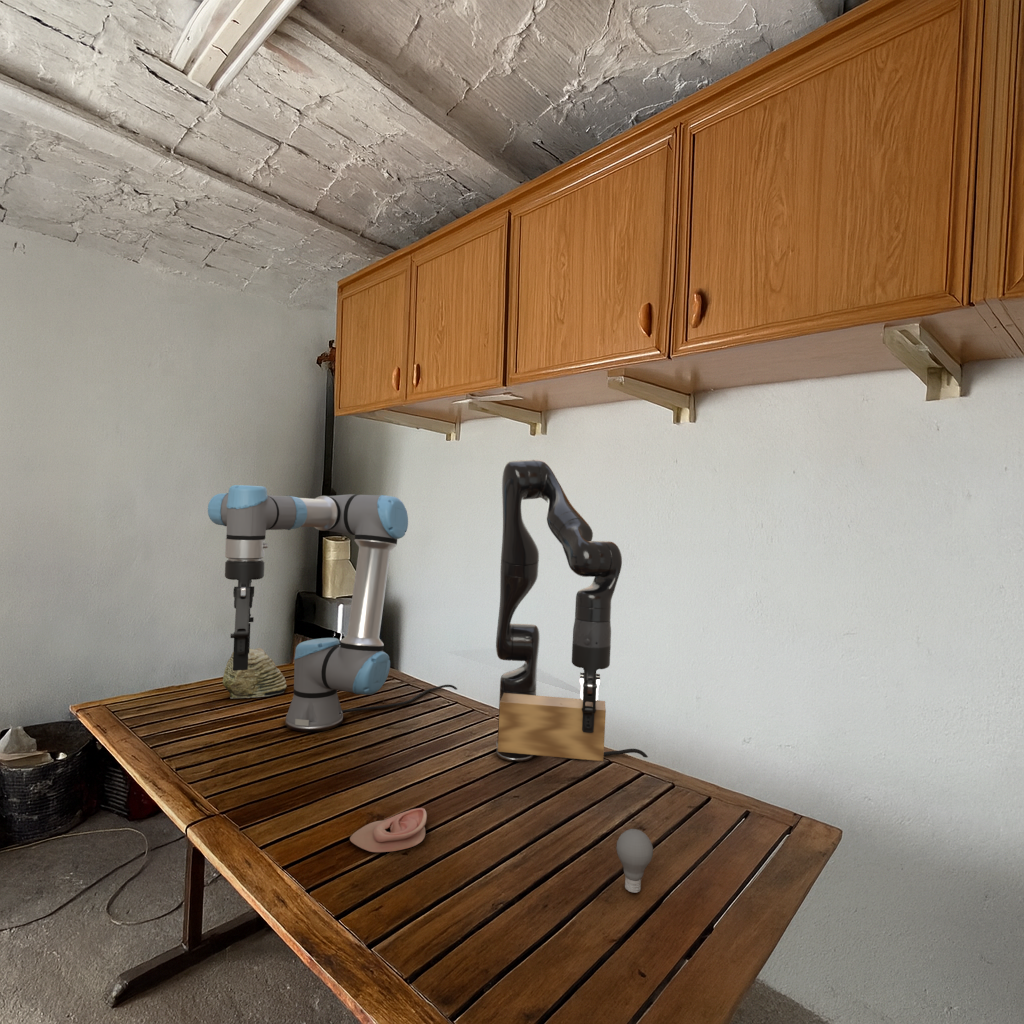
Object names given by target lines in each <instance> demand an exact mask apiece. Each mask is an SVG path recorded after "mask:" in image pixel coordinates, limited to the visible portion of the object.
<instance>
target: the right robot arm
mask: <svg viewBox="0 0 1024 1024" xmlns="http://www.w3.org/2000/svg"><path fill="white" fill-rule="evenodd" d="M536 499H541V500H544V501H545V503H547V508H546V509H547V510H546V523H547V526H548V529H549V530H550V532H551V534H552V535H553V536H554V537H555V539H556V540H557V541H558V543H560V545H561V546H562V549H563V552H564V555H565V558H566V561H567V564H568V568H569V569H570V570H571V571H572V572H573V573H574V574H575V575H577V576H580V577H583V578H592V577H593V580H592V582H591V584H590V585H588V586H586V587H583V588H580V589H579V590H578V591H577V592H576V595H575V609H574V621H573V626H572V627H573V628H572V643H571V644H572V645H571V664H572V665H573V666H574V667H577V668H578V669H583V672H579V685H580V698H579V699H581V700H582V701H583V708H582V713H583V720H582V731H583V732H588V733H592V732H593V731H594V714H595V712H596V709H595V708H596V701H598V700H599V687H600V686H601V673H597V671H598V670H605V669H607V668H609V667H610V666H611V647H612V626H611V623H612V622H611V618H612V615H611V614H612V600H613V596H614V593H615V590H616V588H617V583H618V580H619V577H620V574H621V571H622V566H623V556H622V552H621V550H620V548H619V546H618V545H617V544H616V543H615V542H613V541H609V540H593V538H594V532H593V529H592V527H591V526H590V525H589V523H588V522H587V521H586V520H585V519H584V517H583V515H581V514H580V513H579V512H578V510H577V509H576V508H575V507H574V506H573V504H572V503H571V501H570V500H569V498H568V496H567V495H566V493H565V491H564V489H563V487H562V485H561V483H560V482H559V480H558V478H557V476H556V475H555V473H554V470H552V468H551V467H550V466H549V464H548V463H547V462H546V461H544V460H541V459H521V460H519V459H517V460H510V461H507V462H506V463H505V464H504V466H503V469H502V474H501V502H502V539H501V540H502V541H501V553H500V574H499V575H500V579H499V580H500V581H499V582H500V583H499V589H500V590H499V609H498V619H497V627H496V629H497V630H496V636H495V638H496V639H495V652H496V655H497V657H498V659H499V660H501V661H509V662H510V661H511V662H514V661H515V662H524V663H523V664H522V665H521V666H519V667H518V668H516V669H515V668H514V669H512V670H510V671H507V672H504V673H503V674H502V675H500V680H499V696H498V697H499V698H498V699H499V701H498V712H499V711H500V701H501V698H502V696H503V694H504V693H511V694H524V695H536V696H537V685H538V683H537V681H538V680H537V679H538V677H537V676H538V664H539V663H538V661H539V652H540V642H541V641H540V640H541V639H540V638H541V637H540V636H541V635H540V630H539V627H538V626H537V625H536V624H532V623H531V624H530V623H511V622H512V620H513V616H514V614H515V612H516V610H517V609H518V607H519V606H520V604H521V603H522V602H523V600H524V599H525V598H526V596H527V595H528V594H529V593H530V591H531V590H532V589H533V588H534V585H535V584H536V582H537V581H538V577H539V566H540V550H539V547H538V545H537V544H536V541H535V539H534V538H533V536H532V535H531V533H530V532H529V530H528V528H527V527H526V524H525V522H524V519H523V514H522V501H524V500H536ZM585 702H593V707H591V706H585ZM497 721H498V722H497V723H498V725H497V735H498V734H499V720H497ZM495 747H496V756H497V757H498V758H499V759H500V760H503V761H508V762H512V763H513V762H514V763H522V762H527V761H530V760H532V759H533V758H536V757H537V756H538V755H530V754H519V753H508V752H498V740H495ZM632 753H633V754H634V753H635V754H638V755H640V756H642V757H643V758H649V756H648V755H647V753H646V752H644V751H643V750H641V749H639V748H626V749H620V750H609V751H604V757H608V756H618V755H624V754H625V755H626V754H632ZM559 758H560V759H566V760H573V761H574V760H575V761H576V760H577V761H578V759H574V758H563V757H559Z"/></svg>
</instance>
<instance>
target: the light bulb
mask: <svg viewBox="0 0 1024 1024" xmlns="http://www.w3.org/2000/svg"><path fill="white" fill-rule="evenodd" d="M615 849H616V854H617V857H618V859H619V861H620V863H621V865H622V867H623V873H624V874H623V875H624V876H625V878H624V888H625V890H627V891H628V892H630V893H634V894H635V893H639V892H640V891H641V889H642V887H641V886H642V879H643V877H644V875H645V871H646V868H647V867H648V866H649V864H650V863H651V861H652V859H653V855H654V847H653V843H652V841H651V838H649V836H648V835H647V834H646V833H645V832H643V831H642V830H641V829H636V828H629V829H627V830H625V831H623V832H622V833H621V834H620V835H619V837H618V839H617V841H616V847H615Z"/></svg>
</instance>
